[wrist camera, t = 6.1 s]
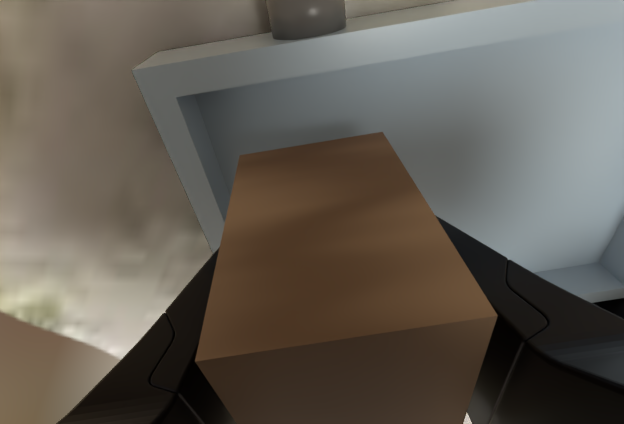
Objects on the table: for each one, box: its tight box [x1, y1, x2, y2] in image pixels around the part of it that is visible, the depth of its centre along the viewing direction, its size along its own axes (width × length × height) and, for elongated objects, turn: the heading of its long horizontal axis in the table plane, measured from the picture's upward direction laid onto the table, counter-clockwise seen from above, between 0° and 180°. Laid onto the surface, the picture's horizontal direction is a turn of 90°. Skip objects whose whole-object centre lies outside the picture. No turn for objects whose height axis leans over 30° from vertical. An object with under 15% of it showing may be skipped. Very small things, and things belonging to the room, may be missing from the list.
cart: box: [131, 0, 624, 303], centre depth 13 cm, size 18×15×2 cm
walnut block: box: [195, 132, 498, 424], centre depth 8 cm, size 4×4×6 cm
